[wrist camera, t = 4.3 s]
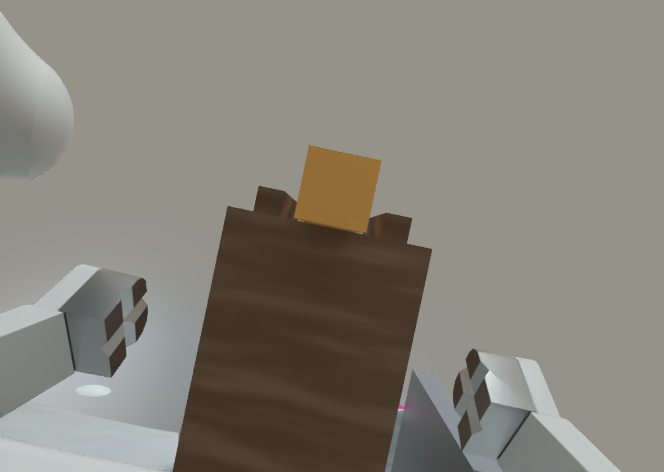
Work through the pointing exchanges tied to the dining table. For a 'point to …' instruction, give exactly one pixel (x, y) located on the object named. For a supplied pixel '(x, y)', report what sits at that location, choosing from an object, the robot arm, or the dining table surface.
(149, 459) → the dining table surface
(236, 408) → the walnut post
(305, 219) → the orange squared block
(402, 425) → the block
